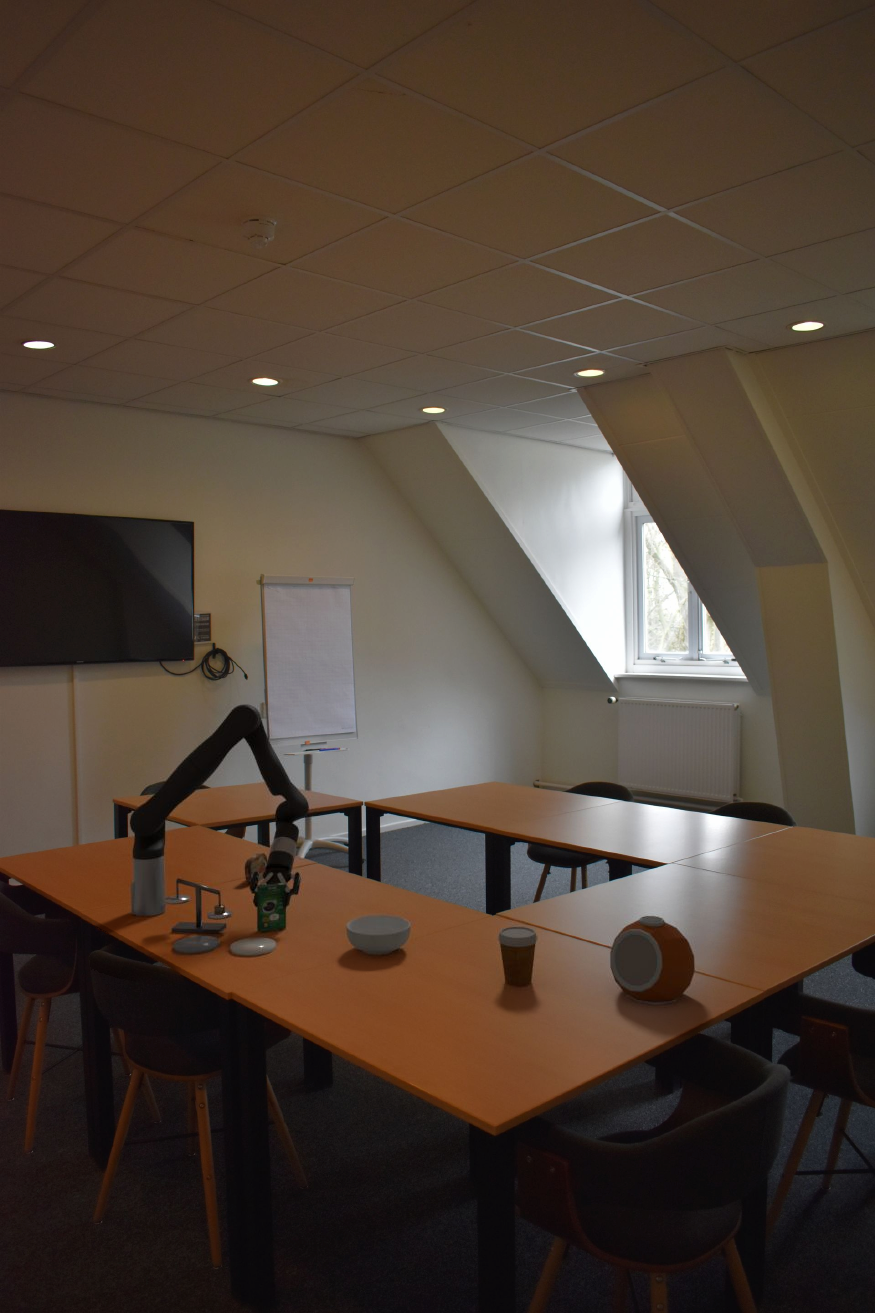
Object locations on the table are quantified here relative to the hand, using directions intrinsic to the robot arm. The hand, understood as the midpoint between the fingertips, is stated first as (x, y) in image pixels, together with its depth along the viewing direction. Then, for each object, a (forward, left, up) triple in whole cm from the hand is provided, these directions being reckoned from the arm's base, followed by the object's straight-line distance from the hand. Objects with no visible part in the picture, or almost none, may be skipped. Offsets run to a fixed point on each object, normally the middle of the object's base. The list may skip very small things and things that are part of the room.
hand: (270, 906), depth 266 cm
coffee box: (0, +1, -7) cm, 8 cm away
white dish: (0, -15, -7) cm, 16 cm away
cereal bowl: (+34, -13, -7) cm, 37 cm away
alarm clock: (+103, -36, -7) cm, 109 cm away
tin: (-23, +54, -7) cm, 60 cm away
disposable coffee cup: (+72, -32, -7) cm, 79 cm away
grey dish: (-16, -15, -7) cm, 23 cm away
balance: (-21, -1, -7) cm, 22 cm away
